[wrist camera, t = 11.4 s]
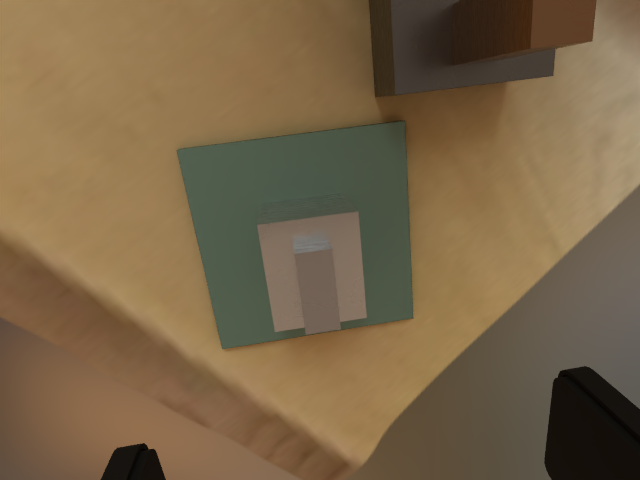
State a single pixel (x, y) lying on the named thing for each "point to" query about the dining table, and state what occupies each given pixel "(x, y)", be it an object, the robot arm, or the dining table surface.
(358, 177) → the rubber mat
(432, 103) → the dining table surface
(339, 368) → the dining table surface
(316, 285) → the lever cap
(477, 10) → the plane body
